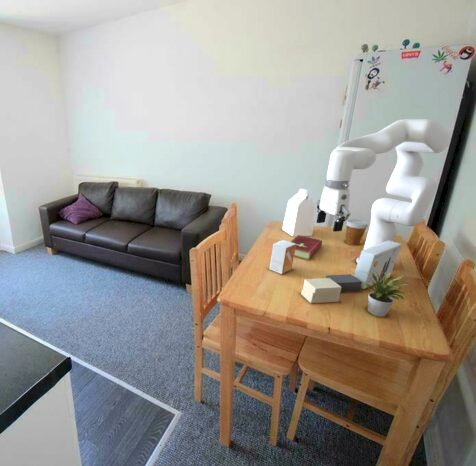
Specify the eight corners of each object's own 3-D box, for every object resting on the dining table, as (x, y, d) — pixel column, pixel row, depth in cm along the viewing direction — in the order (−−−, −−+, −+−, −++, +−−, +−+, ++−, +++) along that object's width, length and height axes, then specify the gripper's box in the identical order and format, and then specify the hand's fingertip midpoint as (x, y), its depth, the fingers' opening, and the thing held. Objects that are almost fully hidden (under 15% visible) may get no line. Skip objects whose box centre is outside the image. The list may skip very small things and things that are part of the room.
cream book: (328, 282, 123) (329, 277, 122) (340, 292, 116) (341, 287, 115) (303, 284, 122) (304, 279, 121) (314, 293, 116) (315, 288, 115)
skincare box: (364, 290, 124) (375, 254, 119) (350, 284, 129) (359, 249, 123) (392, 277, 133) (402, 243, 128) (377, 272, 138) (387, 239, 132)
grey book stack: (348, 283, 130) (350, 274, 128) (359, 291, 124) (362, 281, 122) (323, 284, 130) (325, 275, 128) (333, 292, 124) (335, 283, 122)
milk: (312, 235, 180) (320, 191, 170) (292, 236, 179) (300, 192, 170) (300, 228, 191) (307, 187, 182) (282, 229, 191) (288, 187, 181)
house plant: (349, 316, 109) (360, 275, 104) (347, 297, 120) (357, 259, 114) (401, 329, 102) (416, 286, 96) (394, 307, 113) (407, 268, 107)
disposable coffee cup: (342, 238, 174) (346, 218, 170) (363, 241, 169) (368, 221, 165) (341, 244, 167) (346, 223, 163) (362, 247, 162) (368, 226, 158)
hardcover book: (321, 246, 165) (322, 239, 163) (309, 260, 151) (310, 252, 149) (296, 241, 172) (298, 234, 171) (283, 253, 159) (284, 246, 157)
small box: (281, 274, 139) (286, 248, 134) (268, 269, 144) (272, 243, 139) (291, 269, 143) (296, 243, 138) (279, 264, 148) (283, 239, 143)
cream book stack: (327, 292, 124) (330, 283, 122) (338, 301, 118) (341, 291, 116) (301, 294, 124) (302, 284, 122) (310, 303, 118) (312, 293, 116)
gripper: (364, 188, 108) (354, 234, 114) (331, 178, 124) (323, 219, 130) (344, 190, 108) (334, 235, 114) (312, 180, 124) (306, 220, 130)
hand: (328, 226), depth 122 cm, fingers open, 9 cm apart
